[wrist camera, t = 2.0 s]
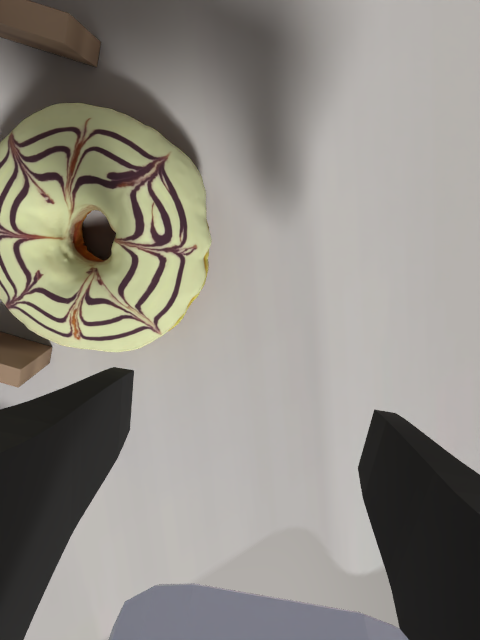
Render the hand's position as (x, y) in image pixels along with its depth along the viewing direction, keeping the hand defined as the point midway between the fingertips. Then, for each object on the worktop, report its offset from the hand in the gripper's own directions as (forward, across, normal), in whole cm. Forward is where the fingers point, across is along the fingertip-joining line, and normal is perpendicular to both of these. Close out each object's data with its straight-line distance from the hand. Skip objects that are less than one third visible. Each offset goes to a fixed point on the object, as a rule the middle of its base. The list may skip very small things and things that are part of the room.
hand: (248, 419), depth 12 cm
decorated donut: (+10, +8, -3) cm, 13 cm away
